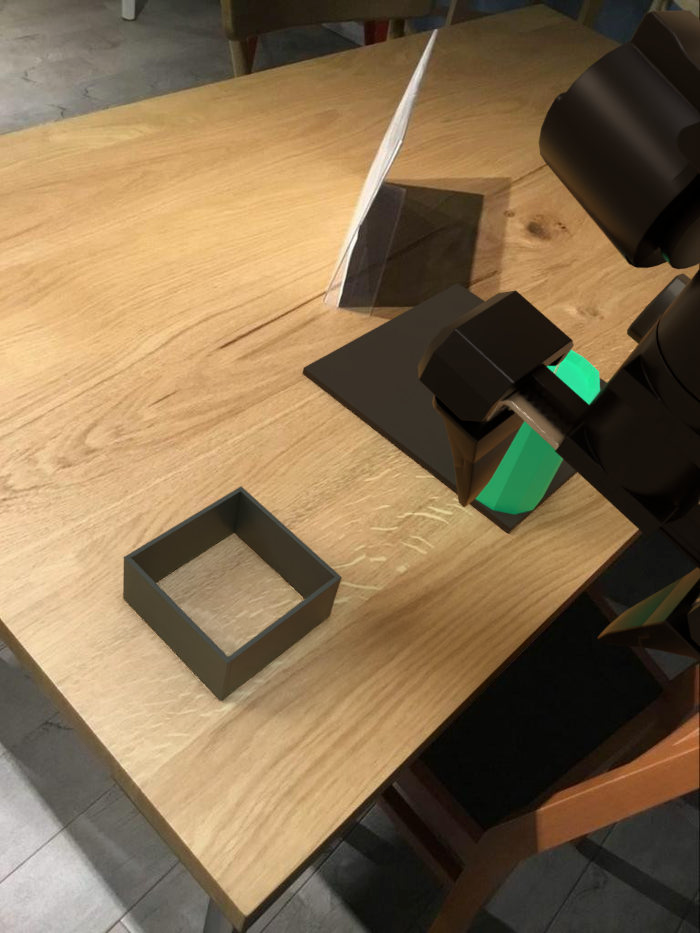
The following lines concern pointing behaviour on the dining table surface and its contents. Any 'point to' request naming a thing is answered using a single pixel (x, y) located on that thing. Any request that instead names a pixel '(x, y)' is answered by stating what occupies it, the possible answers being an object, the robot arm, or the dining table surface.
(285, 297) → the dining table surface
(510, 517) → the mat
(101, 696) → the dining table surface
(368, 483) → the dining table surface
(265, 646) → the dark grey square tray
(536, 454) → the candle
